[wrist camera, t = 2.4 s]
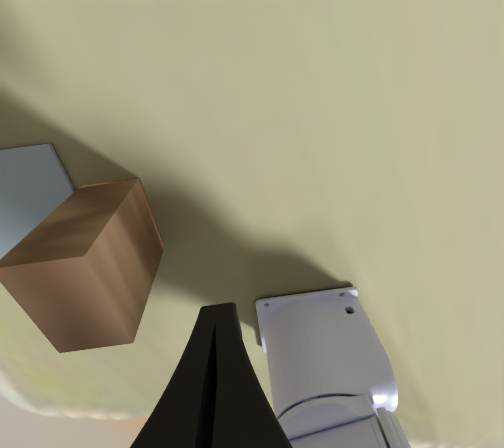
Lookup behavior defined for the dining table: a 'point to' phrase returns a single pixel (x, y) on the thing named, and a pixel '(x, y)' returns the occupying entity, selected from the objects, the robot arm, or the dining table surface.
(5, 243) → the mat
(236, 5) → the dining table surface
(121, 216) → the brown wooden block
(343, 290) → the robot arm
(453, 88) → the dining table surface
